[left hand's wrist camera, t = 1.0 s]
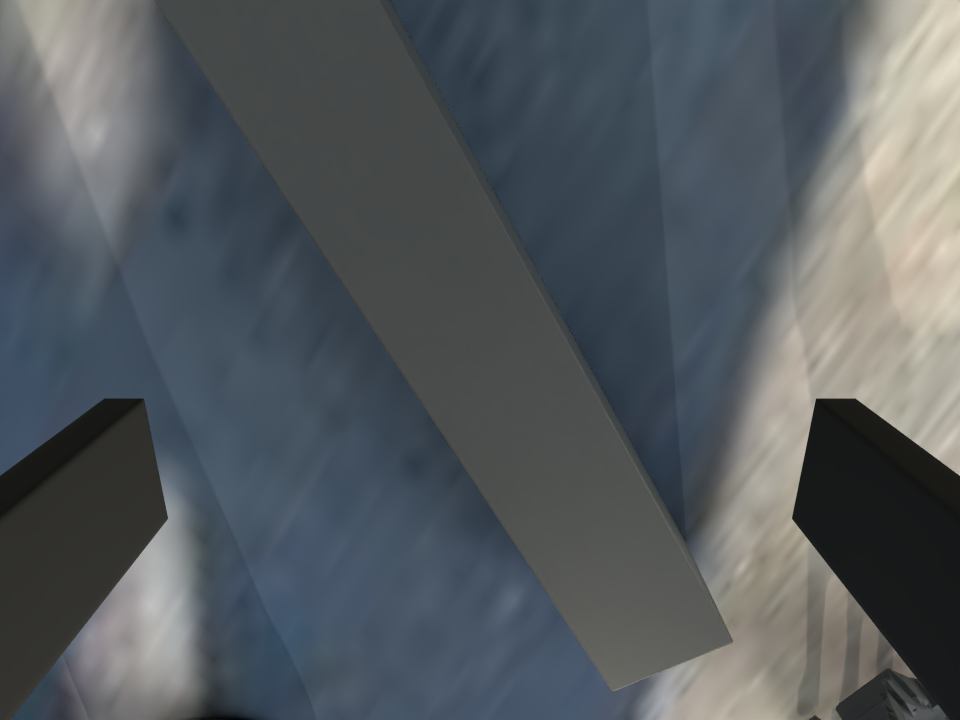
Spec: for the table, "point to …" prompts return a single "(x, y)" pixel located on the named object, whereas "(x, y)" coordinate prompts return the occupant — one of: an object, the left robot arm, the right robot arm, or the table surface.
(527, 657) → the table surface
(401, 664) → the table surface
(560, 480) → the bar
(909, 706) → the toy
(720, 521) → the table surface
